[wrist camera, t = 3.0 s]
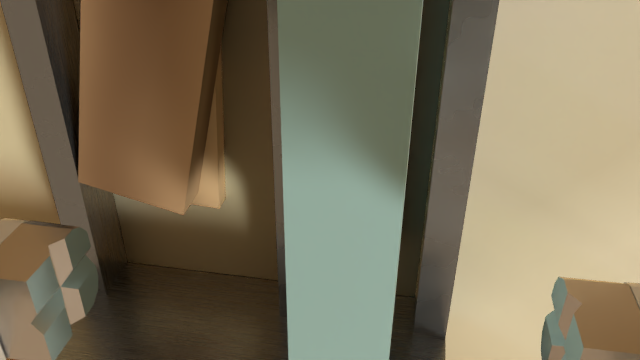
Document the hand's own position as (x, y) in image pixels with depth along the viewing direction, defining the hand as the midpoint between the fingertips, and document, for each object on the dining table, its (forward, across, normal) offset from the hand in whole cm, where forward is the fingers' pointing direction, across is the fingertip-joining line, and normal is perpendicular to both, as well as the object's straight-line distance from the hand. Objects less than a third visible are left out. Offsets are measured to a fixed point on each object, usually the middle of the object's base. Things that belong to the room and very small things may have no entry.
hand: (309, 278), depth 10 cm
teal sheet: (+11, 0, 0) cm, 11 cm away
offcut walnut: (+10, +7, 0) cm, 12 cm away
